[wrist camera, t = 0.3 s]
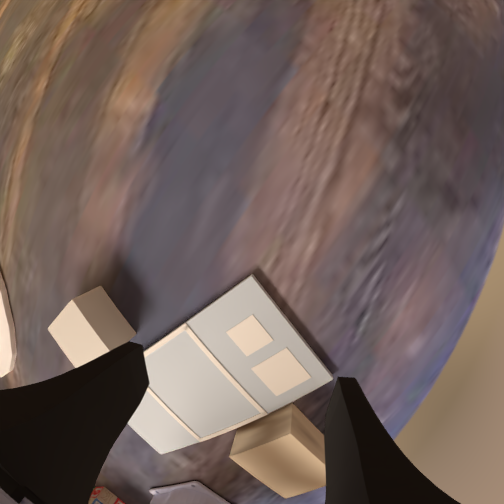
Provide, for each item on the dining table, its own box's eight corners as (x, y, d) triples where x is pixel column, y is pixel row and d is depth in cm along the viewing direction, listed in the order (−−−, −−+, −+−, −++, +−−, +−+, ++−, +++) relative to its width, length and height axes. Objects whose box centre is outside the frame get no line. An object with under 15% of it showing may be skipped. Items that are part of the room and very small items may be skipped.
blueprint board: (162, 450, 25) (160, 455, 24) (96, 383, 24) (93, 387, 24) (332, 374, 20) (333, 379, 20) (252, 273, 20) (250, 275, 19)
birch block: (288, 469, 23) (285, 498, 19) (237, 426, 23) (228, 456, 19) (338, 448, 22) (342, 479, 18) (292, 400, 22) (290, 433, 18)
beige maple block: (107, 356, 23) (83, 377, 20) (75, 313, 23) (47, 328, 19) (137, 333, 22) (112, 354, 19) (101, 285, 22) (72, 299, 18)
